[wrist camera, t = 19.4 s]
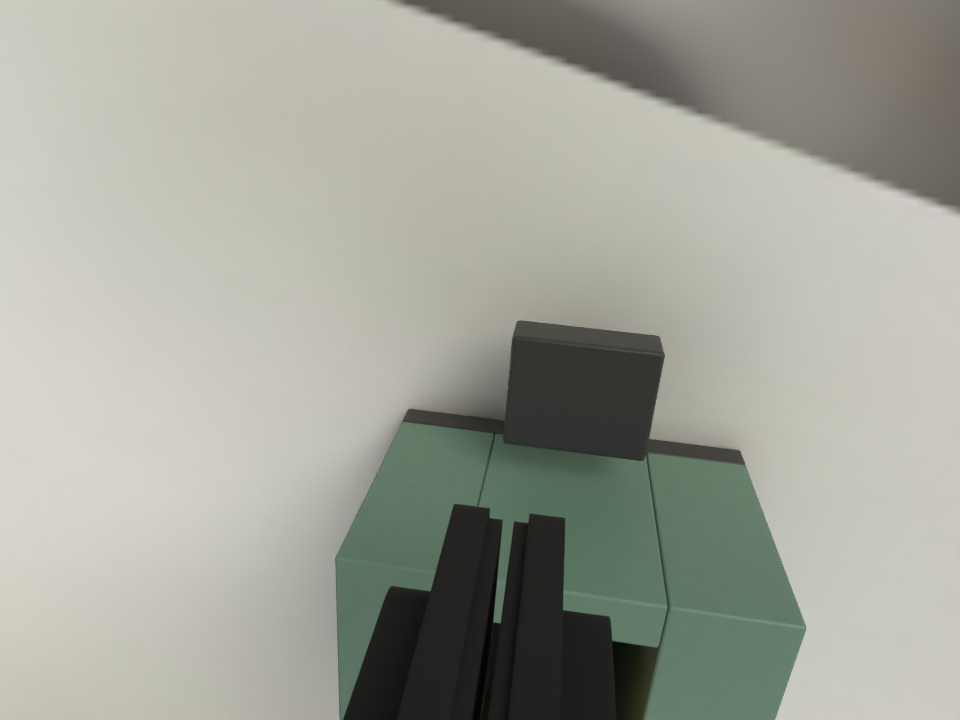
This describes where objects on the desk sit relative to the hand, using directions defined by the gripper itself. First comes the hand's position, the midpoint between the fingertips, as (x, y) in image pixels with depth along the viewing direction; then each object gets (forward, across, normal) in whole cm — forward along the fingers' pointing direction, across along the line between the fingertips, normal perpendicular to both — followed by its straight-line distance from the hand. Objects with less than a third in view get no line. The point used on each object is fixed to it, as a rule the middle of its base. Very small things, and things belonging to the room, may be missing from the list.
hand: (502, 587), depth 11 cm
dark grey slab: (+8, -1, 0) cm, 8 cm away
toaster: (+10, -1, +9) cm, 14 cm away
